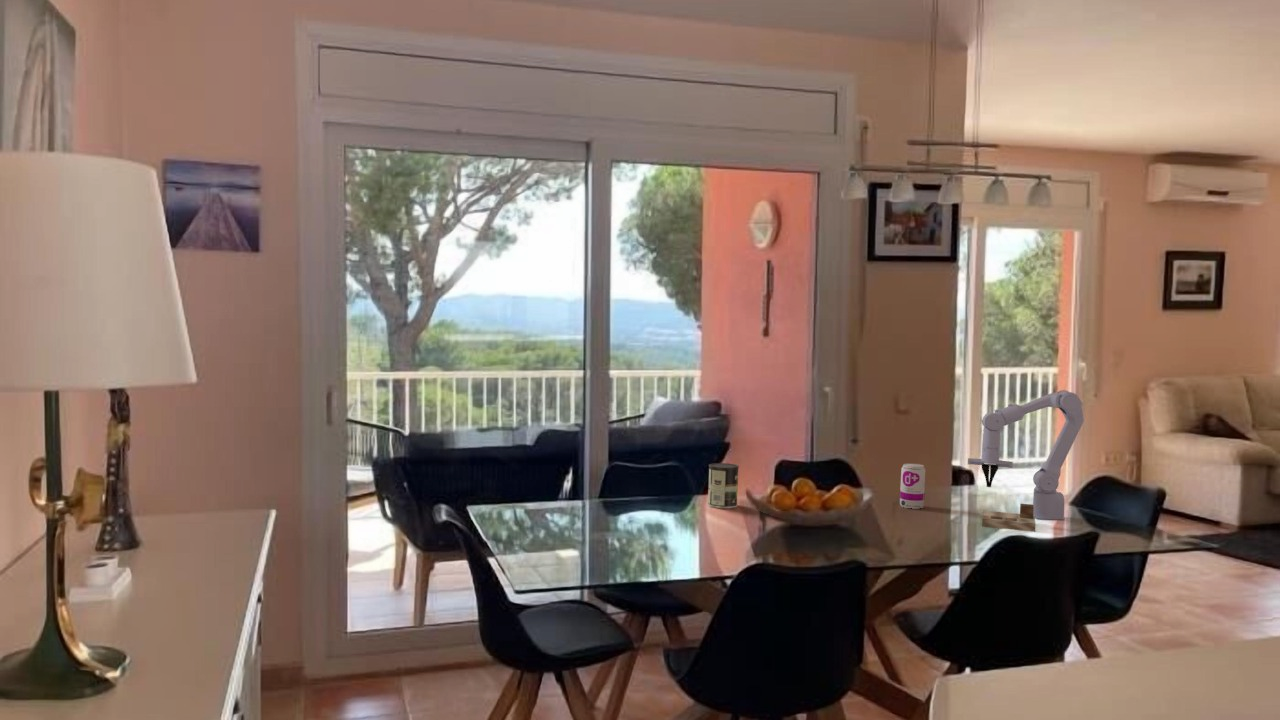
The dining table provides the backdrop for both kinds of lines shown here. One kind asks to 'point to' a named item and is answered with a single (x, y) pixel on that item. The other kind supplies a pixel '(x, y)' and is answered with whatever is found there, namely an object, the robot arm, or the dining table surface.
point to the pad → (1026, 518)
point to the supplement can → (912, 486)
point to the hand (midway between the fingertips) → (988, 486)
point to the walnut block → (1026, 511)
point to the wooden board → (1006, 521)
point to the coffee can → (723, 485)
